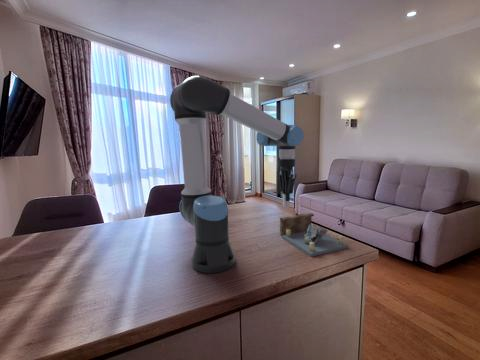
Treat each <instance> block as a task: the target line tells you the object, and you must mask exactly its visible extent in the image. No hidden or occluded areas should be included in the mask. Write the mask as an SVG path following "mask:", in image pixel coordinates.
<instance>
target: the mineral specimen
mask: <svg viewBox="0 0 480 360" xmlns="http://www.w3.org/2000/svg"><path fill="white" fill-rule="evenodd" d="M307 232H308V233H306V234H305V235H304V237H305V238H304V242H305V244H310V242H314V243H315V244H316V242H317V241H318V239H320V238H322V237H323V235H324V234H327V233H328V230H327V228H322V227H320V226H318V225H317V226H314V225H313V223H311V224H309V226H308V229H307Z"/></svg>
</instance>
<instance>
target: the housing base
mask: <svg viewBox="0 0 480 360" xmlns="http://www.w3.org/2000/svg"><path fill="white" fill-rule="evenodd" d="M312 224H313V223H312ZM313 225H314V226H318V224H315V223H314V224H313ZM306 233H308V232H307V231H303V232H298V233H293V234H291V230H290V229H286V235H283V236H282V235H281V238H282V239H283V240H284V241H286V242H287V243H289V244H291V245H292V246H293V247H294V248H297V249H298V250H300V251H301V252H303V253H305V254H306V255H308V256H309V257H311V258H312V257H315V256H320V255H325V254H328V253H332V252H337V251H340V250H341V251H342V250H344V249H349V244H347V243H346V242H344V236H343V235H339V236H338V239H337V238H335V237H332V236H331V235H328V234H327V233H326V234H324V235H323V237H322V238H320V239H318V241H317V242H316V244H315V243H314V242H310V244H305V242H304V238H305V237H304V235H305V234H306Z"/></svg>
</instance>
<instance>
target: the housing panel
mask: <svg viewBox="0 0 480 360" xmlns="http://www.w3.org/2000/svg"><path fill="white" fill-rule="evenodd" d="M313 217H314V213H312V212H307V213H301V214H295V215H289V216H283V217H279V226H280V227H279V234H280V236H281V237H282V236H283V235H286V229H290V230H291V234H293V233H298V232H303V231H307V229H308V226H309V224H312V218H313Z"/></svg>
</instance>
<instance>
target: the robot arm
mask: <svg viewBox="0 0 480 360" xmlns="http://www.w3.org/2000/svg"><path fill="white" fill-rule="evenodd" d="M169 103H170V108H171V109H172V112H173V114H174V121H175V122H176V123H177V124H178V125H179V136H180V145H181V146H180V147H181V157H182V158H181V159H182V170H183V183H184V188H183V189H182V190H181V192H180V196H181V197H180V198H181V200H180V202H179V208H178V209H179V213H180V215H181V217H182V218H183V219H184V221H186V222H187V223H189V224H190V225H191V226H193V227H194V232H195V233H194V234H195V246H194V250H193V253H192V257H191V267H192V268H193V269H194V270H195V271H197V272H200V273H203V274H217V273H221V272H224V271H227V270H229V269H231V268H232V267H233V266H234V264H235V254H234V251H233V248H232V246H231V244H230V237H229V231H230V230H229V208H228V202H227V200H226V199H225V198H223V197H221V196H219V195H218V196H217V195H216V196H215V195H212V189H211V188H209V187H208V181H207V180H208V179H207V169H206V155H205V154H206V153H205V151H206V150H205V140H204V138H205V137H204V123H205V122H206V121H207V113H208V114H209V113H210V114H212V115H214V116H217V117H218V116H219V117H220V116H224V117H225V118H228V119H230V120H232V121H234V122H237V123H238V124H239V125H242V126H245V127H246V128H249V129H251V130H253V131H255V132H257V133H256V142H257V144H258V145H259V146H261V147H278V158H279V159H278V167H280V171H277V176H278V182H279V192H281V194H282V208H284V209H285V208H290V200H291V198H290V197H291V194H293V193H294V187H295V180H296V179H297V174H296V173H294V169H293V168H294V167H295V166H296V159H295V158H296V146H299V145H301V144H302V143H303V141H304V137H305V134H304V130H303V128H301V127H300V126H297V125H293V124H287V123H285V122H283V121H281V120H279V119H278V118H276V117H274V116H272V115H270V114H269V113H267V112H265V111H263V110H261V109H259V108H258V107H255V106H254V105H252V104H250V103H249V102H246V101H245V100H243V99H241V98H240V97H237V96H236V95H233V94H232V92H231V89H229V88H228V87H226V86H224V85H222V84H220V83H218V82H217V81H214V80H212V79H210V78H207V77H205V76H199V75H192V76H190V77H188V78H186V79H185V80H184V81H182V82H181V83H179V84H177V85H176V86H175V87H174V88H173V90H172V92H171V93H170V97H169Z"/></svg>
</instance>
